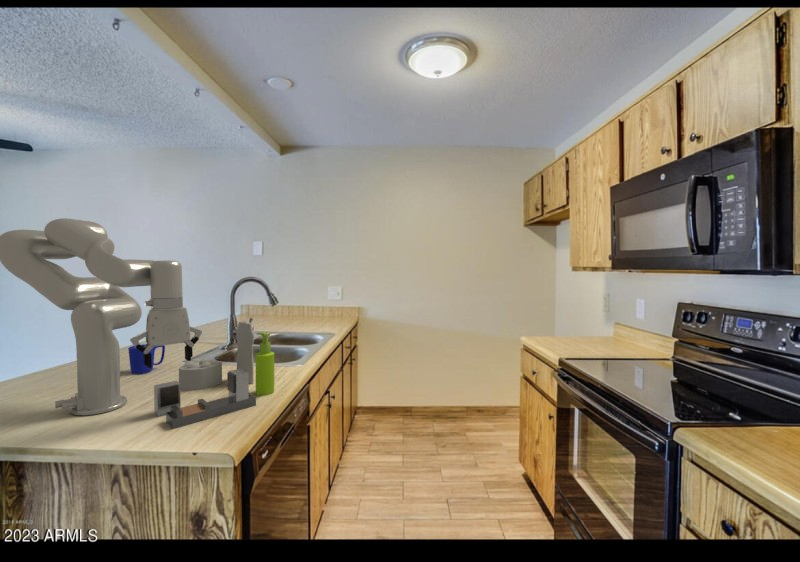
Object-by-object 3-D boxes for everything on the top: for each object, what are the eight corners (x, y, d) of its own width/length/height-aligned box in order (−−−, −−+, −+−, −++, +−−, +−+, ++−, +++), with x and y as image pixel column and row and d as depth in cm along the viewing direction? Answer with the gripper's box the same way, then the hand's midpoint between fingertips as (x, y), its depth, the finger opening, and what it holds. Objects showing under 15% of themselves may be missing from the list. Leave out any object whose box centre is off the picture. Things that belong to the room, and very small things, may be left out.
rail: (172, 428, 91) (172, 389, 90) (166, 421, 95) (165, 383, 95) (255, 405, 107) (256, 371, 107) (247, 399, 111) (247, 367, 111)
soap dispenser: (266, 387, 123) (267, 330, 122) (277, 391, 118) (278, 333, 117) (250, 391, 118) (250, 332, 117) (261, 396, 114) (261, 335, 113)
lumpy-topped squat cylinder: (225, 382, 126) (225, 359, 126) (187, 393, 116) (187, 367, 115) (209, 377, 132) (209, 354, 132) (172, 386, 121) (172, 362, 121)
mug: (169, 369, 140) (169, 344, 140) (134, 376, 130) (133, 350, 130) (159, 365, 145) (159, 341, 144) (124, 372, 135) (124, 347, 134)
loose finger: (154, 412, 100) (154, 385, 100) (176, 407, 105) (176, 380, 104) (158, 417, 98) (158, 388, 97) (181, 411, 102) (181, 384, 101)
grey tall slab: (231, 379, 130) (231, 320, 129) (242, 376, 133) (242, 319, 132) (247, 385, 124) (248, 323, 123) (258, 382, 127) (258, 322, 126)
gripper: (132, 307, 91) (134, 373, 92) (204, 302, 104) (206, 359, 104) (126, 305, 96) (128, 367, 97) (196, 300, 109) (197, 355, 109)
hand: (169, 363), depth 101 cm, fingers open, 9 cm apart
